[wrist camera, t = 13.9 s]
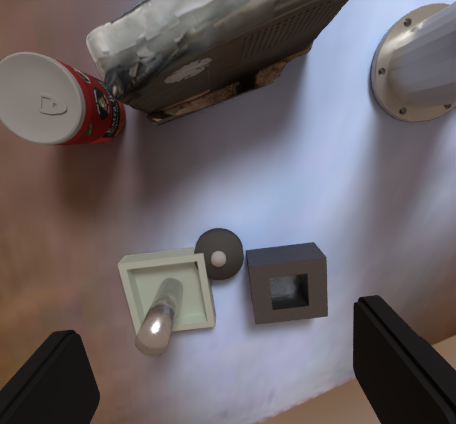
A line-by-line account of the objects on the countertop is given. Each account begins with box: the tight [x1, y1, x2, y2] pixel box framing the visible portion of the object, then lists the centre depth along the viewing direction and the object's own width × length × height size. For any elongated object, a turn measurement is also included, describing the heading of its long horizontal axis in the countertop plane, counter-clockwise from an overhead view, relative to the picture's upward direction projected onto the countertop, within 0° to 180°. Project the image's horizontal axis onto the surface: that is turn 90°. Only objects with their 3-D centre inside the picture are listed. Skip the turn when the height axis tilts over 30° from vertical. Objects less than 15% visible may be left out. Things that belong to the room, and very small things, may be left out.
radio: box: [86, 0, 348, 125], centre depth 25 cm, size 23×9×15 cm, turn 106°
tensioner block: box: [246, 242, 328, 324], centre depth 37 cm, size 10×9×5 cm
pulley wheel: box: [194, 228, 244, 280], centre depth 37 cm, size 7×7×3 cm
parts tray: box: [118, 247, 216, 335], centre depth 39 cm, size 12×12×3 cm
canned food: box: [0, 52, 125, 145], centre depth 28 cm, size 8×8×11 cm
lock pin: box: [135, 278, 183, 356], centre depth 34 cm, size 4×4×11 cm
